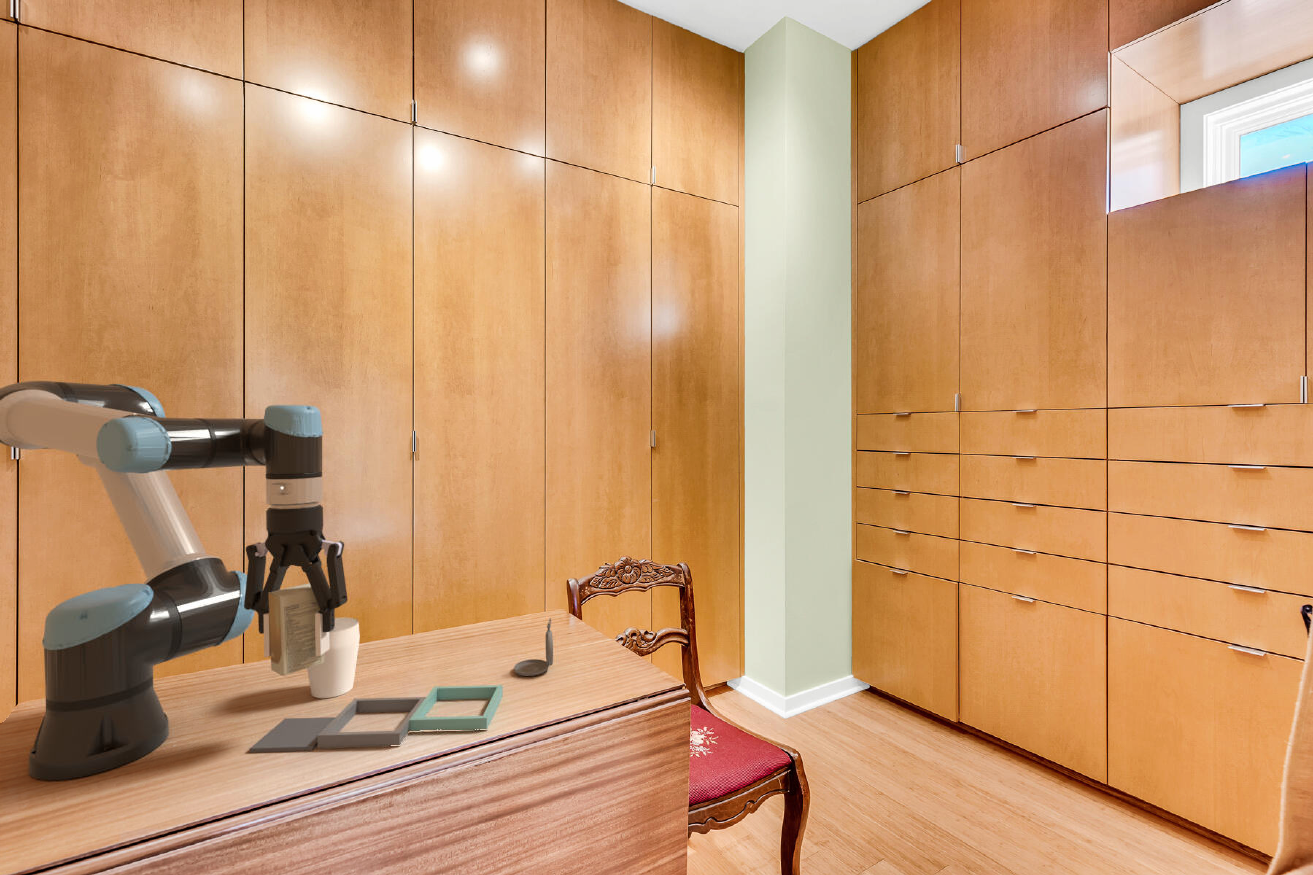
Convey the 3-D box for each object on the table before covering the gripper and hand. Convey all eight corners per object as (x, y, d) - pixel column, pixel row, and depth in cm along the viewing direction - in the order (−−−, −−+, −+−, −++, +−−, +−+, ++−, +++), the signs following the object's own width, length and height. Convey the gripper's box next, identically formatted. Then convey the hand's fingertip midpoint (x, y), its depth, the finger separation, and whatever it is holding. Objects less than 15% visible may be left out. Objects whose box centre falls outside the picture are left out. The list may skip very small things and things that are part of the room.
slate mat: (249, 752, 87) (249, 748, 87) (284, 722, 96) (284, 718, 96) (312, 750, 88) (312, 746, 88) (341, 720, 97) (341, 716, 97)
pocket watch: (507, 671, 116) (507, 620, 116) (542, 658, 123) (542, 610, 122) (531, 683, 111) (531, 630, 111) (567, 669, 117) (567, 619, 117)
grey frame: (317, 748, 88) (317, 735, 88) (354, 710, 100) (354, 698, 100) (399, 746, 89) (399, 733, 89) (426, 708, 101) (426, 696, 101)
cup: (336, 704, 103) (335, 635, 102) (291, 699, 104) (290, 631, 104) (371, 682, 111) (370, 618, 111) (329, 678, 113) (328, 615, 113)
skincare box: (312, 657, 96) (311, 581, 96) (325, 663, 93) (324, 586, 93) (268, 670, 90) (266, 590, 90) (280, 677, 88) (279, 595, 88)
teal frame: (409, 732, 93) (409, 719, 93) (434, 697, 105) (434, 686, 105) (486, 730, 94) (486, 717, 94) (502, 696, 106) (502, 684, 105)
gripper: (211, 509, 87) (214, 664, 88) (349, 507, 88) (351, 660, 89) (244, 502, 95) (246, 645, 95) (371, 501, 96) (373, 642, 96)
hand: (297, 652), depth 92 cm, fingers closed on skincare box, 7 cm apart
